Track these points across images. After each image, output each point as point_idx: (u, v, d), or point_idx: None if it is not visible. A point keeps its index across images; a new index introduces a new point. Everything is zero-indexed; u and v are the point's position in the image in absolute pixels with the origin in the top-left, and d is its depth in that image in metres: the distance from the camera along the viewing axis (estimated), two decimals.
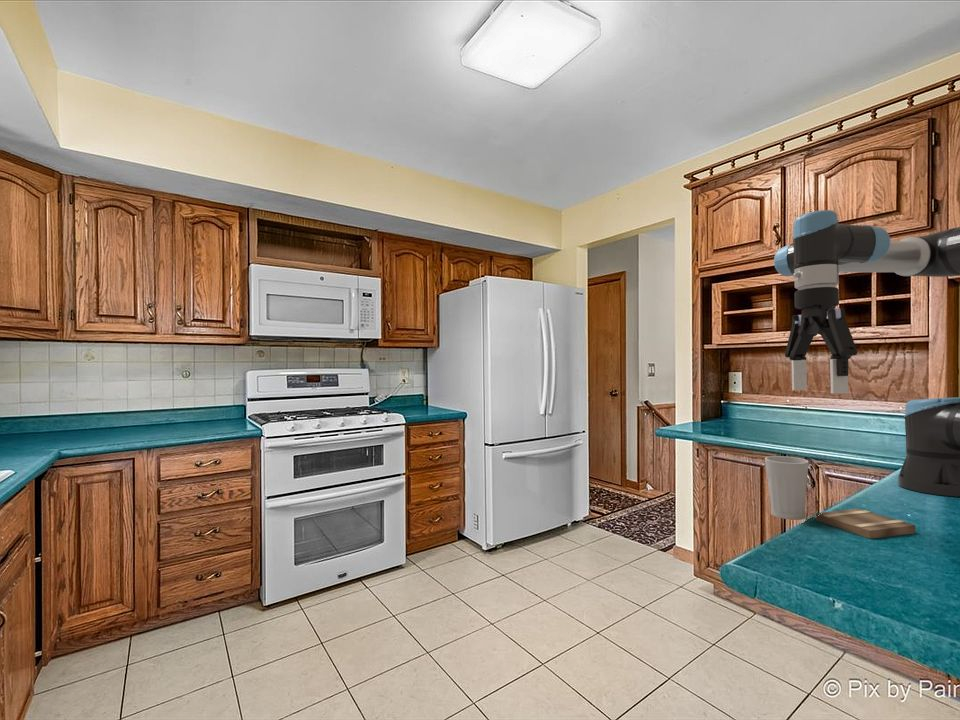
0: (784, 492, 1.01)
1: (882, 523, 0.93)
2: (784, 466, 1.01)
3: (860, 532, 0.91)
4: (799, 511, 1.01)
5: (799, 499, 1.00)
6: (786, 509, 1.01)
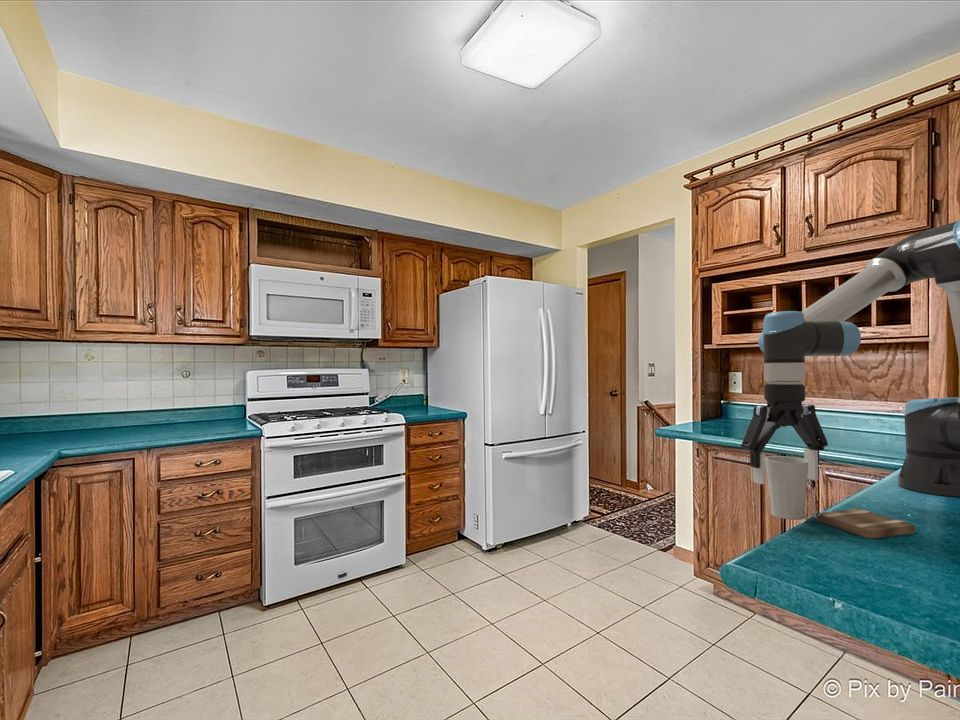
0: (784, 492, 1.01)
1: (882, 523, 0.93)
2: (784, 466, 1.01)
3: (860, 532, 0.91)
4: (799, 511, 1.01)
5: (799, 499, 1.00)
6: (786, 509, 1.01)
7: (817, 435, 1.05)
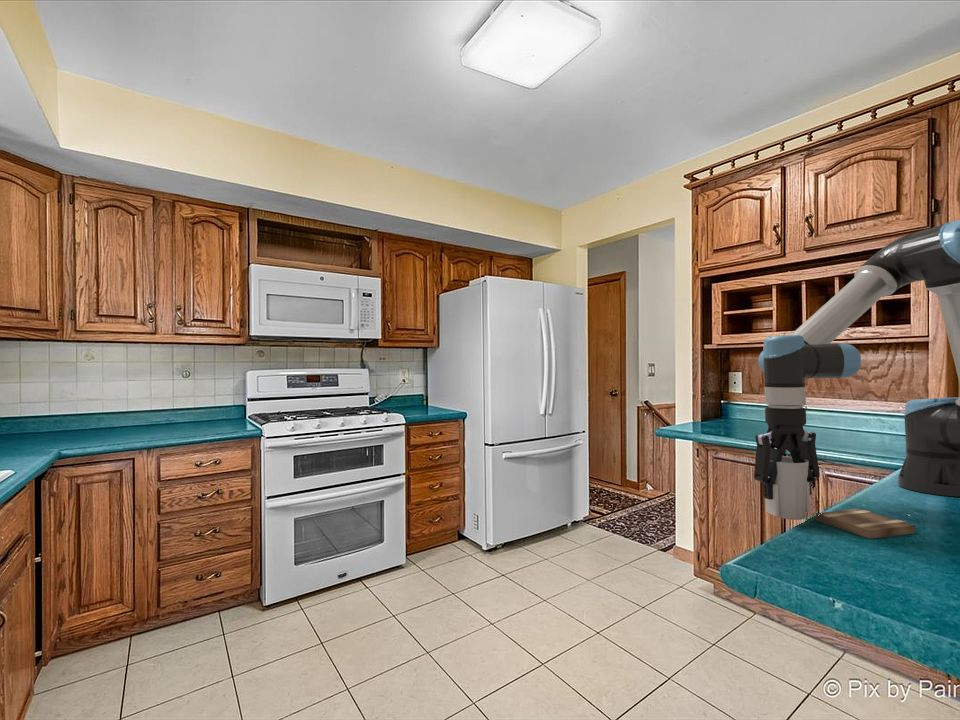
0: (784, 492, 1.01)
1: (882, 523, 0.93)
2: (784, 466, 1.01)
3: (860, 532, 0.91)
4: (799, 511, 1.01)
5: (799, 499, 1.00)
6: (786, 509, 1.01)
7: (811, 464, 1.04)
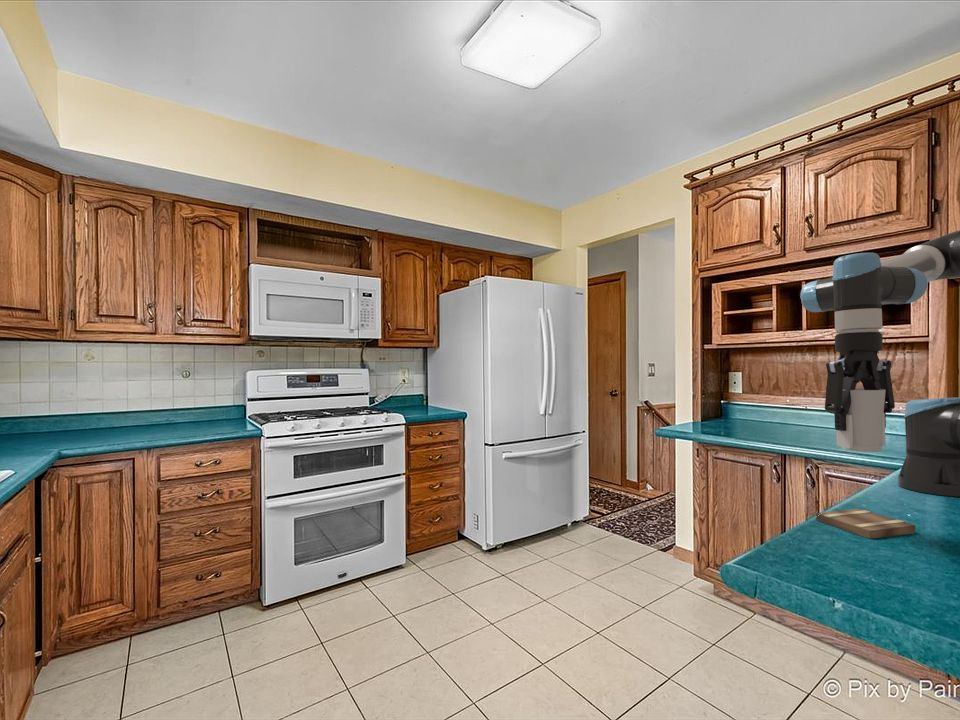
0: (859, 422, 0.93)
1: (882, 523, 0.93)
2: (859, 394, 0.93)
3: (860, 532, 0.91)
4: (876, 442, 0.93)
5: (876, 429, 0.93)
6: (861, 441, 0.93)
7: (885, 395, 0.97)
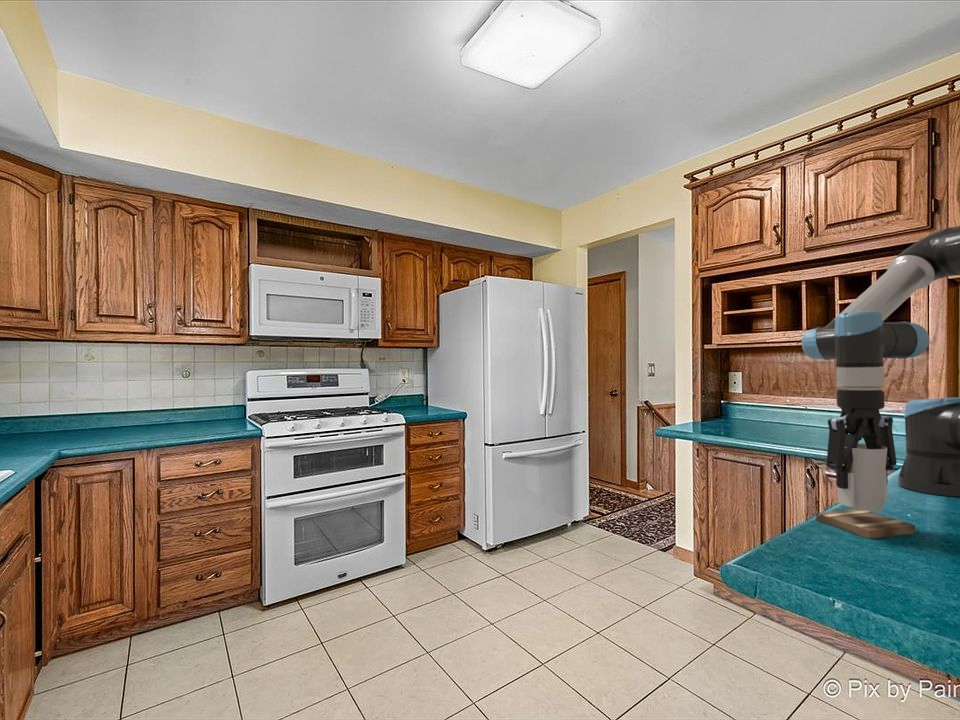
0: (861, 481, 0.93)
1: (882, 523, 0.93)
2: (861, 452, 0.93)
3: (860, 532, 0.91)
4: (877, 501, 0.93)
5: (878, 488, 0.93)
6: (863, 499, 0.93)
7: (887, 451, 0.97)
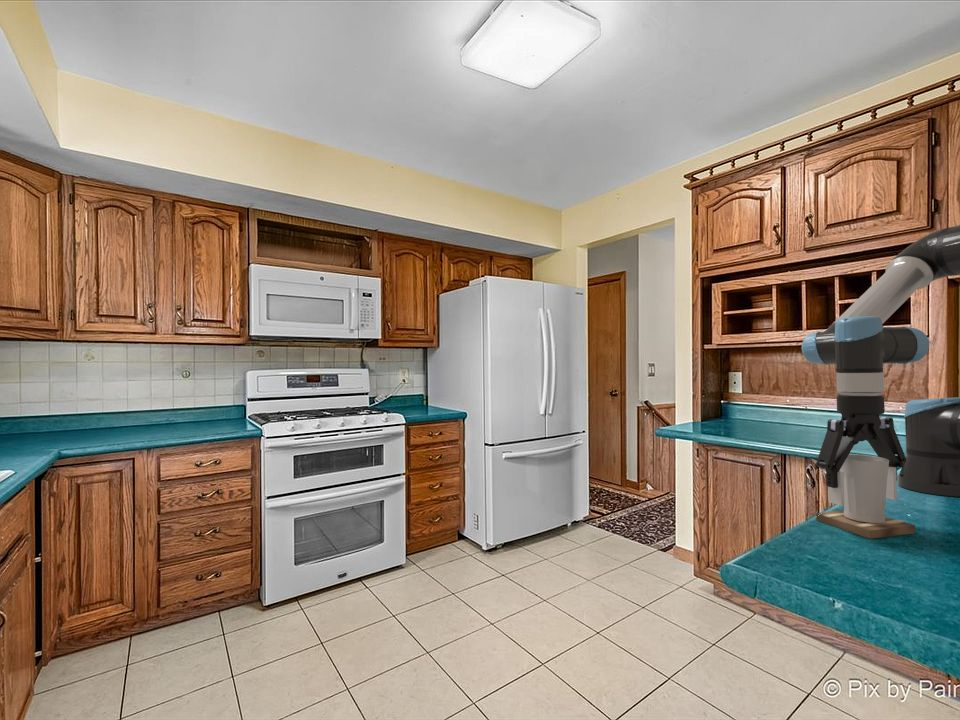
0: (862, 493, 0.93)
1: (882, 523, 0.93)
2: (863, 464, 0.93)
3: (860, 532, 0.91)
4: (879, 514, 0.93)
5: (879, 500, 0.93)
6: (864, 511, 0.93)
7: (895, 450, 0.97)
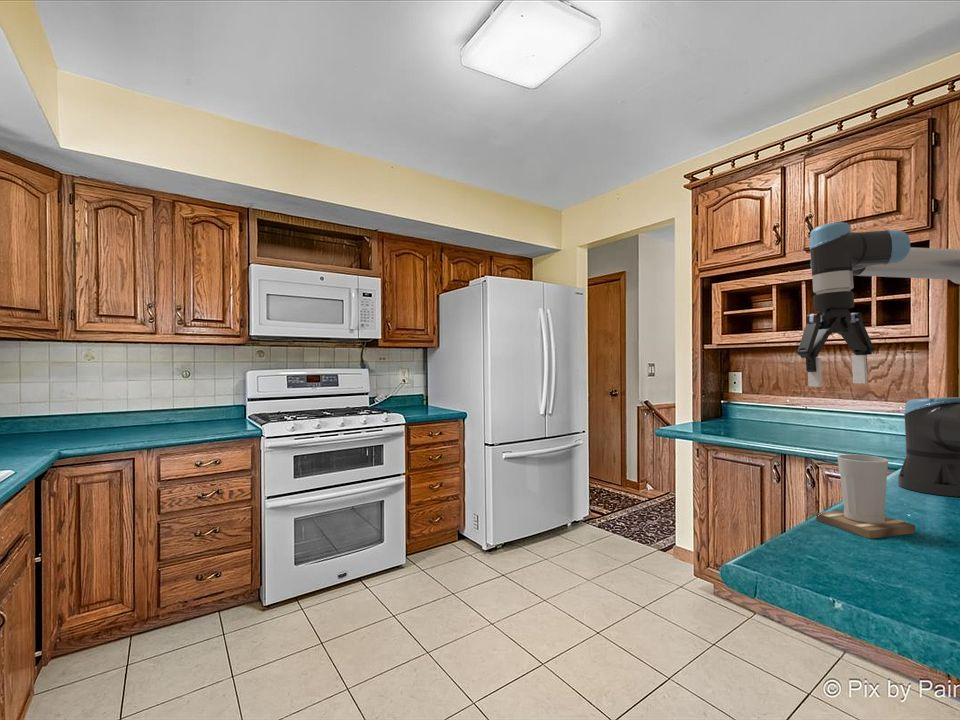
0: (862, 493, 0.93)
1: (882, 523, 0.93)
2: (862, 465, 0.93)
3: (860, 532, 0.91)
4: (879, 514, 0.93)
5: (879, 501, 0.93)
6: (864, 512, 0.93)
7: (864, 341, 1.11)
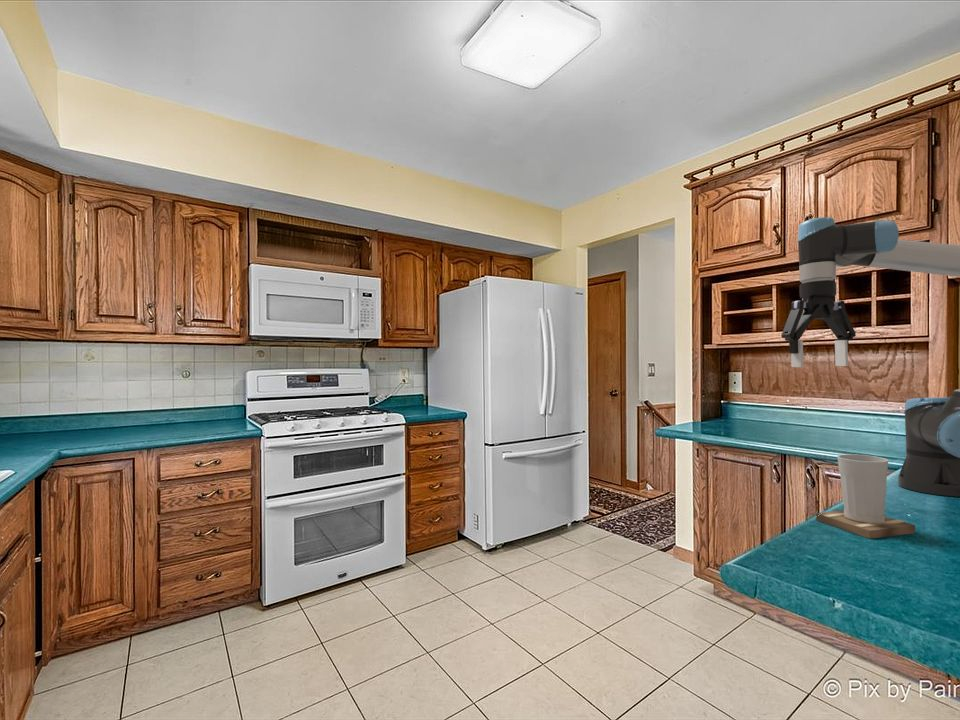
0: (862, 493, 0.93)
1: (882, 523, 0.93)
2: (862, 465, 0.93)
3: (860, 532, 0.91)
4: (879, 514, 0.93)
5: (879, 501, 0.93)
6: (864, 512, 0.93)
7: (846, 327, 1.21)
